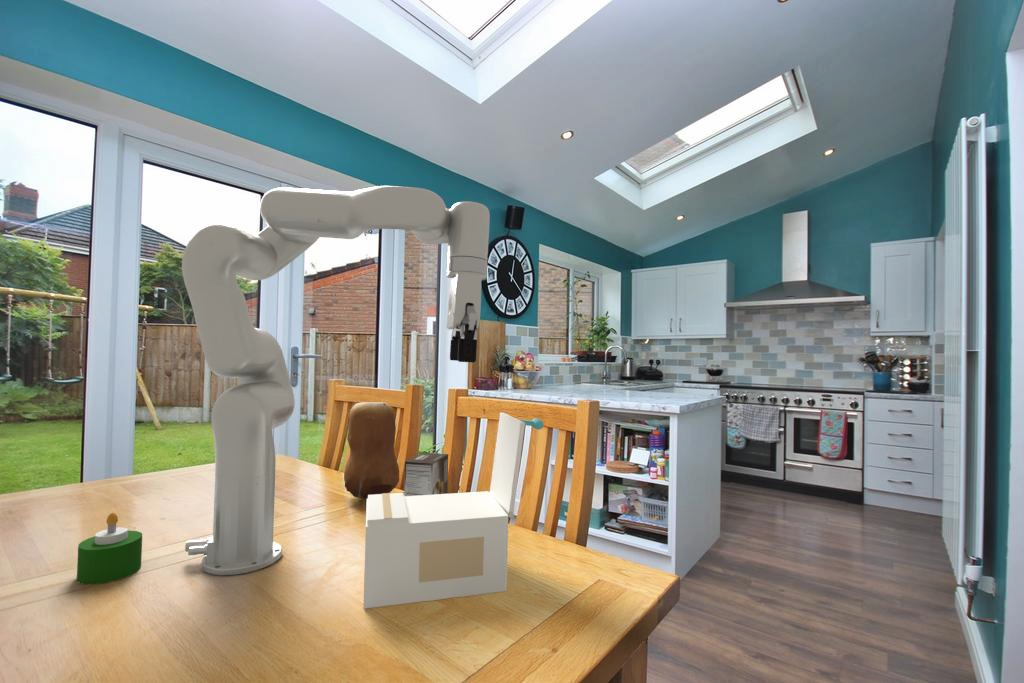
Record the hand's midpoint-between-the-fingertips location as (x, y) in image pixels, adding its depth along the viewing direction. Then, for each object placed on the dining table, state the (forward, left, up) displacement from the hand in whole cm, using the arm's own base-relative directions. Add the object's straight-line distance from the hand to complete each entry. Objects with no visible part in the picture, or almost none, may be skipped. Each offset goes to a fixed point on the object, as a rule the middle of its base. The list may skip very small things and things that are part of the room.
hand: (462, 361), depth 90 cm
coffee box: (-4, +13, -37) cm, 39 cm away
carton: (-5, -7, -37) cm, 38 cm away
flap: (+7, -7, -17) cm, 20 cm away
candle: (-57, +8, -37) cm, 69 cm away
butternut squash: (-15, +40, -37) cm, 57 cm away
